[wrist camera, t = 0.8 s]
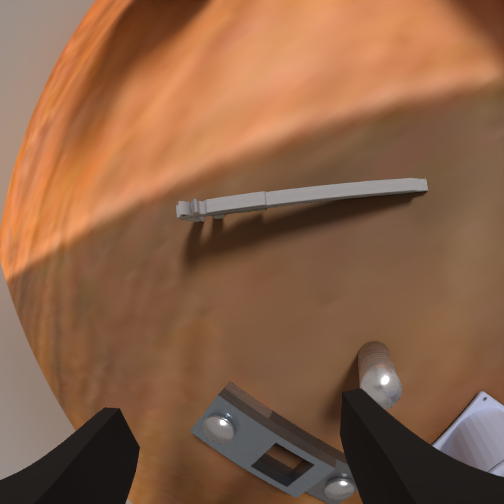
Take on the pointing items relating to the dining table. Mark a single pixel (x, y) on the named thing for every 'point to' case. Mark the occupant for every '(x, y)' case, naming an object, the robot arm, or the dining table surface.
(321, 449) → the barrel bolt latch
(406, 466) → the robot arm
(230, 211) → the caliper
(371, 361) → the steel pin
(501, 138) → the dining table surface
